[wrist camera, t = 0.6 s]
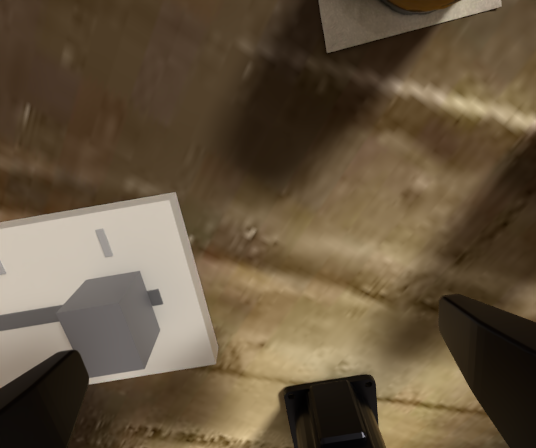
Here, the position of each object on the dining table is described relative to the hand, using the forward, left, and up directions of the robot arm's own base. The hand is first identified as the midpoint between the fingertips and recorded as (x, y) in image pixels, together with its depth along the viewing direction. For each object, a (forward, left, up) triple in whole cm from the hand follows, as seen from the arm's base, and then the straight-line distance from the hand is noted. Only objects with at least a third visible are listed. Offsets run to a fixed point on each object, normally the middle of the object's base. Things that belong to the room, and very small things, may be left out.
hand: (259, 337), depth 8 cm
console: (-4, +14, -12) cm, 19 cm away
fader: (-4, +8, -10) cm, 13 cm away
